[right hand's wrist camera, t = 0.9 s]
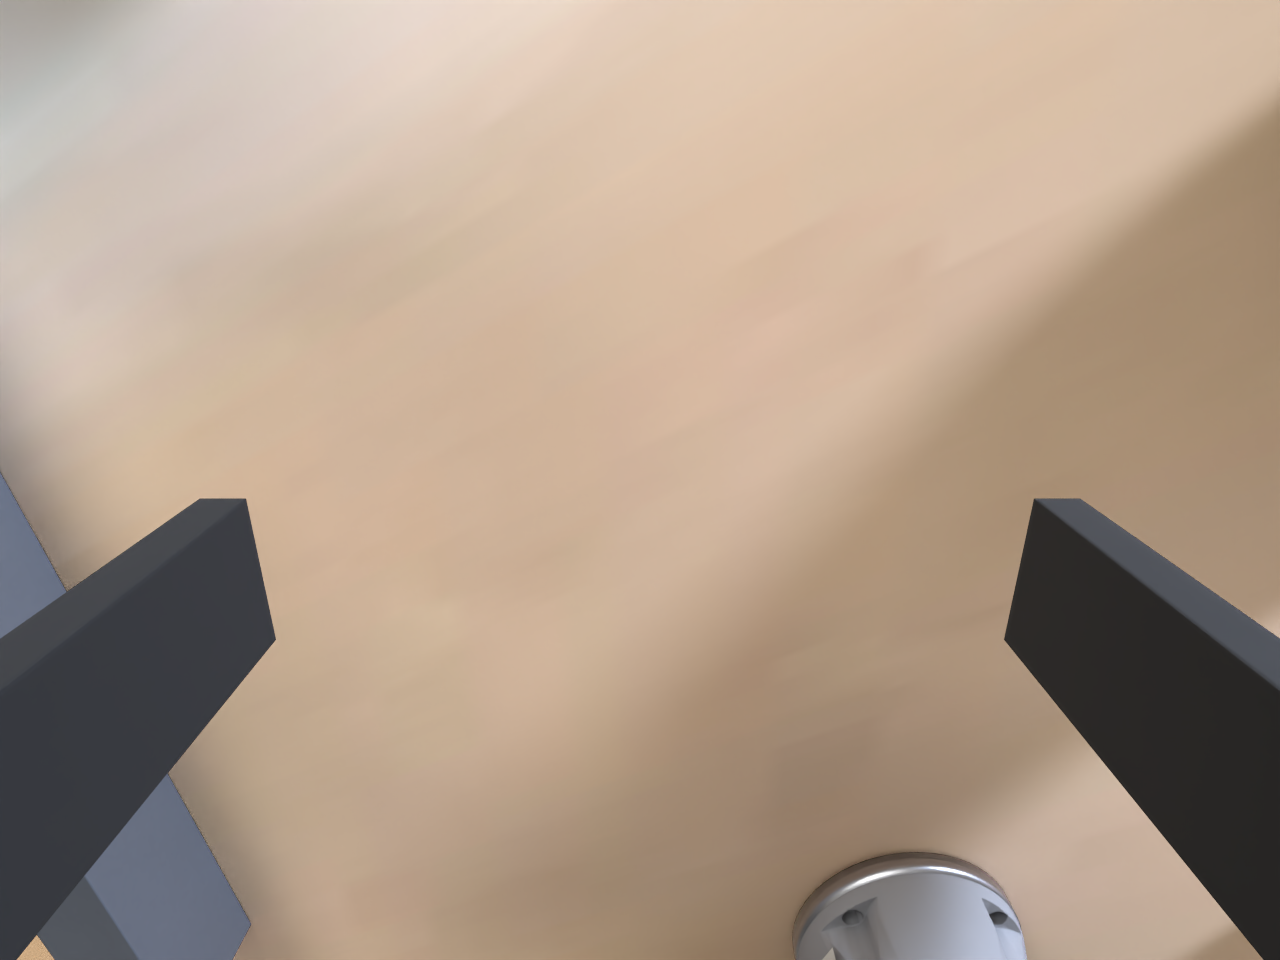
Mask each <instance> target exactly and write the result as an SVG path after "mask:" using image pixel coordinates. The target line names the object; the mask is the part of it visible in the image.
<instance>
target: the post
mask: <svg viewBox="0 0 1280 960" xmlns="http://www.w3.org/2000/svg"><path fill="white" fill-rule="evenodd" d="M65 593H66V590H65V588H64V586H63V584H62V583H61V581H60V579H59V577H58V575H57V574H56V572H55V570H54V568H53V566H52V565H51V563H50V561H49V559H48V557H47V556H46V554H45V552H44V550H43V548H42V547H41V545H40V543H39V541H38V539H37V538H36V536H35V534H34V532H33V530H32V529H31V527H30V525H29V523H28V521H27V520H26V518H25V516H24V514H23V512H22V511H21V509H20V507H19V505H18V503H17V502H16V500H15V498H14V496H13V494H12V493H11V491H10V489H9V487H8V485H7V484H6V482H5V480H4V478H3V476H2V475H1V473H0V638H2V637H3V636H5V635H6V634H7V633H9V632H10V631H12V630H13V629H15V628H16V627H17V626H19V625H20V624H22V623H23V622H25V621H26V620H27V619H29V618H30V617H32V616H33V615H35V614H36V613H37V612H39V611H40V610H42V609H43V608H45V607H46V606H47V605H49V604H50V603H52V602H53V601H55V600H56V599H57V598H59V597H60V596H62V595H63V594H65ZM250 925H251V923H250V921H249V919H248V918H247V916H246V914H245V912H244V910H243V909H242V907H241V905H240V903H239V901H238V900H237V898H236V896H235V894H234V892H233V891H232V889H231V887H230V885H229V883H228V882H227V880H226V878H225V876H224V874H223V873H222V871H221V869H220V867H219V865H218V864H217V862H216V860H215V858H214V856H213V855H212V853H211V851H210V849H209V847H208V846H207V844H206V842H205V840H204V838H203V837H202V835H201V833H200V831H199V829H198V828H197V826H196V824H195V822H194V820H193V819H192V817H191V815H190V813H189V811H188V810H187V808H186V806H185V804H184V802H183V801H182V799H181V797H180V795H179V793H178V792H177V790H176V788H175V786H174V784H173V783H172V781H171V779H170V777H169V775H168V774H167V775H166V776H165V777H164V778H163V779H162V781H161V782H160V783H159V784H158V786H157V787H156V788H155V789H154V791H153V792H152V793H151V794H150V796H149V797H148V798H147V799H146V800H145V802H144V803H143V804H142V805H141V807H140V808H139V809H138V810H137V812H136V813H135V814H134V815H133V816H132V818H131V819H130V820H129V821H128V823H127V824H126V825H125V826H124V828H123V829H122V830H121V831H120V833H119V834H118V835H117V836H116V837H115V839H114V840H113V841H112V842H111V844H110V845H109V846H108V847H107V849H106V850H105V851H104V852H103V854H102V855H101V856H100V857H99V858H98V860H97V861H96V862H95V863H94V865H93V866H92V867H91V868H90V870H89V871H88V872H87V873H86V874H85V876H84V877H83V878H82V879H81V881H80V882H79V883H78V884H77V886H76V887H75V888H74V889H73V891H72V892H71V893H70V894H69V895H68V897H67V898H66V899H65V900H64V902H63V903H62V904H61V905H60V907H59V908H58V909H57V910H56V912H55V913H54V914H53V915H52V916H51V918H50V919H49V920H48V921H47V923H46V924H45V925H44V926H43V928H42V929H41V930H40V931H39V932H38V934H37V936H38V937H39V938H40V940H41V941H42V943H43V944H44V945H45V947H46V948H47V950H48V951H49V952H50V954H51V955H52V957H53V958H54V959H55V960H233V958H234V956H235V954H236V952H237V950H238V948H239V946H240V944H241V943H242V941H243V939H244V937H245V935H246V933H247V931H248V929H249V927H250Z"/></svg>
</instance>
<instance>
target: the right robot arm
mask: <svg viewBox="0 0 1280 960" xmlns="http://www.w3.org/2000/svg"><path fill="white" fill-rule="evenodd" d="M275 640H276V638H275V633H274V629H273V624H272V619H271V615H270V610H269V605H268V600H267V596H266V591H265V586H264V582H263V577H262V572H261V568H260V563H259V558H258V553H257V549H256V544H255V539H254V535H253V530H252V525H251V520H250V516H249V511H248V506H247V502H246V499H199V500H197V501H196V502H194V503H193V504H192V505H190V506H189V507H187V508H186V509H184V510H183V511H182V512H180V513H179V514H177V515H176V516H174V517H173V518H172V519H170V520H169V521H167V522H166V523H164V524H163V525H162V526H160V527H159V528H157V529H156V530H154V531H153V532H152V533H150V534H149V535H147V536H146V537H144V538H143V539H142V540H140V541H139V542H137V543H136V544H134V545H133V546H132V547H130V548H129V549H127V550H126V551H124V552H123V553H122V554H120V555H119V556H117V557H116V558H114V559H113V560H112V561H110V562H109V563H107V564H106V565H104V566H103V567H102V568H100V569H99V570H97V571H96V572H95V573H93V574H92V575H90V576H89V577H87V578H86V579H85V580H83V581H82V582H80V583H79V584H77V585H76V586H75V587H73V588H72V589H70V590H69V591H67V592H66V593H65V594H63V595H62V596H60V597H59V598H57V599H56V600H55V601H53V602H52V603H50V604H49V605H47V606H46V607H45V608H43V609H42V610H40V611H39V612H37V613H36V614H35V615H33V616H32V617H30V618H29V619H27V620H26V621H25V622H23V623H22V624H20V625H19V626H17V627H16V628H15V629H13V630H12V631H10V632H9V633H7V634H6V635H5V636H3V637H2V638H0V960H17V958H18V957H19V956H20V955H21V953H22V952H23V951H24V950H25V949H26V947H27V946H28V945H29V944H30V942H31V941H32V940H33V939H34V937H35V936H36V935H37V934H38V932H39V931H40V930H41V929H42V928H43V926H44V925H45V924H46V923H47V921H48V920H49V919H50V918H51V916H52V915H53V914H54V913H55V912H56V910H57V909H58V908H59V907H60V905H61V904H62V903H63V902H64V900H65V899H66V898H67V897H68V895H69V894H70V893H71V892H72V891H73V889H74V888H75V887H76V886H77V884H78V883H79V882H80V881H81V879H82V878H83V877H84V876H85V874H86V873H87V872H88V871H89V870H90V868H91V867H92V866H93V865H94V863H95V862H96V861H97V860H98V858H99V857H100V856H101V855H102V854H103V852H104V851H105V850H106V849H107V847H108V846H109V845H110V844H111V842H112V841H113V840H114V839H115V837H116V836H117V835H118V834H119V833H120V831H121V830H122V829H123V828H124V826H125V825H126V824H127V823H128V821H129V820H130V819H131V818H132V816H133V815H134V814H135V813H136V812H137V810H138V809H139V808H140V807H141V805H142V804H143V803H144V802H145V800H146V799H147V798H148V797H149V796H150V794H151V793H152V792H153V791H154V789H155V788H156V787H157V786H158V784H159V783H160V782H161V781H162V779H163V778H164V777H165V776H166V775H167V773H168V772H169V771H170V770H171V768H172V767H173V766H174V765H175V763H176V762H177V761H178V760H179V758H180V757H181V756H182V755H183V754H184V752H185V751H186V750H187V749H188V747H189V746H190V745H191V744H192V742H193V741H194V740H195V739H196V738H197V736H198V735H199V734H200V733H201V731H202V730H203V729H204V728H205V726H206V725H207V724H208V723H209V721H210V720H211V719H212V718H213V717H214V715H215V714H216V713H217V712H218V710H219V709H220V708H221V707H222V705H223V704H224V703H225V702H226V700H227V699H228V698H229V697H230V696H231V694H232V693H233V692H234V691H235V689H236V688H237V687H238V686H239V684H240V683H241V682H242V681H243V680H244V678H245V677H246V676H247V675H248V673H249V672H250V671H251V670H252V668H253V667H254V666H255V665H256V663H257V662H258V661H259V660H260V659H261V657H262V656H263V655H264V654H265V652H266V651H267V650H268V649H269V647H270V646H271V645H272V644H273V643H274V641H275ZM1004 640H1005V641H1006V643H1007V644H1008V645H1009V646H1010V647H1011V649H1012V650H1013V651H1014V652H1015V654H1016V655H1017V656H1018V657H1019V659H1020V660H1021V661H1022V662H1023V663H1024V665H1025V666H1026V667H1027V668H1028V670H1029V671H1030V672H1031V673H1032V675H1033V676H1034V677H1035V678H1036V680H1037V681H1038V682H1039V683H1040V684H1041V686H1042V687H1043V688H1044V689H1045V691H1046V692H1047V693H1048V694H1049V696H1050V697H1051V698H1052V699H1053V700H1054V702H1055V703H1056V704H1057V705H1058V707H1059V708H1060V709H1061V710H1062V712H1063V713H1064V714H1065V715H1066V717H1067V718H1068V719H1069V720H1070V721H1071V723H1072V724H1073V725H1074V726H1075V728H1076V729H1077V730H1078V731H1079V733H1080V734H1081V735H1082V736H1083V738H1084V739H1085V740H1086V741H1087V742H1088V744H1089V745H1090V746H1091V747H1092V749H1093V750H1094V751H1095V752H1096V754H1097V755H1098V756H1099V757H1100V758H1101V760H1102V761H1103V762H1104V763H1105V765H1106V766H1107V767H1108V768H1109V770H1110V771H1111V772H1112V773H1113V775H1114V776H1115V777H1116V778H1117V779H1118V781H1119V782H1120V783H1121V784H1122V786H1123V787H1124V788H1125V789H1126V791H1127V792H1128V793H1129V794H1130V796H1131V797H1132V798H1133V799H1134V800H1135V802H1136V803H1137V804H1138V805H1139V807H1140V808H1141V809H1142V810H1143V812H1144V813H1145V814H1146V815H1147V816H1148V818H1149V819H1150V820H1151V821H1152V823H1153V824H1154V825H1155V826H1156V828H1157V829H1158V830H1159V831H1160V833H1161V834H1162V835H1163V836H1164V837H1165V839H1166V840H1167V841H1168V842H1169V844H1170V845H1171V846H1172V847H1173V849H1174V850H1175V851H1176V852H1177V854H1178V855H1179V856H1180V857H1181V858H1182V860H1183V861H1184V862H1185V863H1186V865H1187V866H1188V867H1189V868H1190V870H1191V871H1192V872H1193V873H1194V874H1195V876H1196V877H1197V878H1198V879H1199V881H1200V882H1201V883H1202V884H1203V886H1204V887H1205V888H1206V889H1207V891H1208V892H1209V893H1210V894H1211V895H1212V897H1213V898H1214V899H1215V900H1216V902H1217V903H1218V904H1219V905H1220V907H1221V908H1222V909H1223V910H1224V912H1225V913H1226V914H1227V915H1228V916H1229V918H1230V919H1231V920H1232V921H1233V923H1234V924H1235V925H1236V926H1237V928H1238V929H1239V930H1240V931H1241V932H1242V934H1243V935H1244V936H1245V937H1246V939H1247V940H1248V941H1249V942H1250V944H1251V945H1252V946H1253V947H1254V949H1255V950H1256V951H1257V952H1258V953H1259V955H1260V956H1261V957H1262V958H1263V960H1280V638H1278V637H1277V636H1275V635H1274V634H1273V633H1271V632H1270V631H1268V630H1267V629H1265V628H1264V627H1263V626H1261V625H1260V624H1258V623H1257V622H1255V621H1254V620H1253V619H1251V618H1250V617H1248V616H1247V615H1245V614H1244V613H1243V612H1241V611H1240V610H1238V609H1237V608H1235V607H1234V606H1233V605H1231V604H1230V603H1228V602H1227V601H1225V600H1224V599H1223V598H1221V597H1220V596H1218V595H1217V594H1215V593H1214V592H1213V591H1211V590H1210V589H1208V588H1207V587H1205V586H1204V585H1203V584H1201V583H1200V582H1198V581H1197V580H1195V579H1194V578H1193V577H1191V576H1190V575H1188V574H1187V573H1185V572H1184V571H1183V570H1181V569H1180V568H1178V567H1177V566H1175V565H1174V564H1173V563H1171V562H1170V561H1168V560H1167V559H1166V558H1164V557H1163V556H1161V555H1160V554H1158V553H1157V552H1156V551H1154V550H1153V549H1151V548H1150V547H1148V546H1147V545H1146V544H1144V543H1143V542H1141V541H1140V540H1138V539H1137V538H1136V537H1134V536H1133V535H1131V534H1130V533H1128V532H1127V531H1126V530H1124V529H1123V528H1121V527H1120V526H1118V525H1117V524H1116V523H1114V522H1113V521H1111V520H1110V519H1108V518H1107V517H1106V516H1104V515H1103V514H1101V513H1100V512H1098V511H1097V510H1096V509H1094V508H1093V507H1091V506H1090V505H1088V504H1087V503H1086V502H1084V501H1083V500H1081V499H1034V502H1033V506H1032V511H1031V516H1030V520H1029V525H1028V530H1027V535H1026V539H1025V544H1024V549H1023V553H1022V558H1021V563H1020V568H1019V572H1018V577H1017V582H1016V586H1015V591H1014V596H1013V600H1012V605H1011V610H1010V615H1009V619H1008V624H1007V629H1006V633H1005V638H1004ZM792 941H793V949H794V954H795V959H796V960H1027V956H1026V950H1025V944H1024V938H1023V934H1022V931H1021V926H1020V923H1019V920H1018V918H1017V916H1016V914H1015V912H1014V910H1013V908H1012V906H1011V904H1010V902H1009V900H1008V898H1007V896H1006V895H1005V893H1004V891H1003V889H1002V888H1001V887H1000V885H999V884H998V883H997V882H996V881H995V880H994V879H993V878H992V877H991V876H990V875H989V874H987V873H986V872H985V871H983V870H981V869H980V868H978V867H976V866H974V865H973V864H971V863H968V862H966V861H963V860H961V859H957V858H954V857H951V856H946V855H941V854H933V853H919V852H917V853H899V854H892V855H886V856H881V857H877V858H873V859H870V860H867V861H863V862H861V863H858V864H856V865H853V866H851V867H849V868H847V869H845V870H843V871H841V872H839V873H838V874H836V875H834V876H833V877H831V878H830V879H828V880H827V881H826V882H824V883H823V884H822V885H821V886H820V887H818V888H817V889H816V890H815V891H814V892H813V893H812V894H811V895H810V897H809V898H808V899H807V900H806V902H805V903H804V905H803V906H802V908H801V909H800V911H799V913H798V915H797V918H796V921H795V924H794V928H793V936H792Z"/></svg>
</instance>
